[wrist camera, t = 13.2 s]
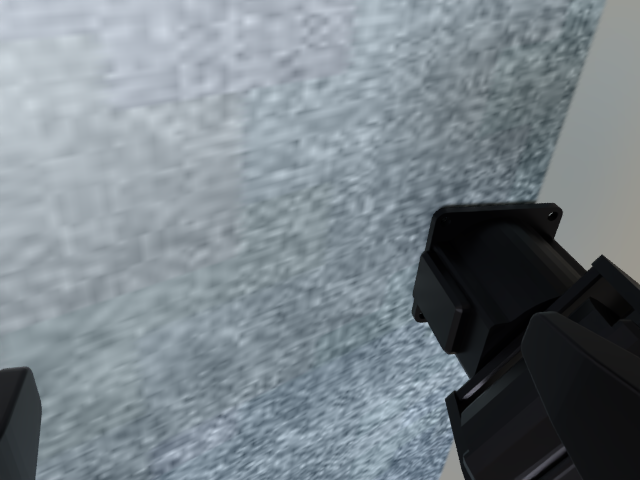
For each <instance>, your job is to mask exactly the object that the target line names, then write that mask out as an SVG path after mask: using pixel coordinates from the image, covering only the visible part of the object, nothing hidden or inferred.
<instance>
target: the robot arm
mask: <svg viewBox="0 0 640 480" xmlns="http://www.w3.org/2000/svg"><path fill="white" fill-rule="evenodd" d="M552 212H553V213H552ZM550 213H552V214H551V215H550V216H549V214H550ZM562 214H563V211H562V209H561V208H560V207H558V206H557V205H556V204H555V203H539V204H518V205H498V206H477V207H457V208H443V209H439V210H438V211H436V212H435V213H434V214H433V217H432V220H431V225H430V229H429V234H428V238H427V243H426V248H425V251H424V252H423V253H422V255H421V257H420V262H419V266H418V271H417V276H416V280H415V285H414V290H413V297H414V302H413V307H412V315H413V317H414V319H415V320H416V321H417V322H420V323H424V322H428V324H429V326H430V328H431V329H432V331H433V333H434V335H435V336H436V338H437V340H438V342H439V344H440V345H441V347H442V349H443V350H444V351H445V352H446V353H447V354H455V355H456V357H457V358H458V360H459V362H460V364H461V365H462V367H463V369H464V370H465V372H466V374H467V376H468V377H469V380H468V381H467V382H466V383H465V384H464V385H463V386H462V387H461V388H460V389H459V390H458V391H453V392H452V393H451V394H450V395H449V396H448V397H447V398H445V402H446V406H447V410H448V414H449V419H450V423H451V427H452V431H453V435H454V440H455V444H456V448H457V452H458V456H459V460H460V465H461V469H462V472H463V475H464V478H465V480H640V285H639V284H638V283H637V282H636V281H635V280H633V279H632V278H631V277H630V276H628V275H627V274H626V273H625V272H623V271H622V270H621V269H620V268H618V267H617V266H616V265H615V264H613V263H612V262H611V261H610V260H608V259H607V258H606V257H605V256H603V255H601V256H600V257H599V258H597V259H596V260H595V261H594V262H593V263H592V266H593V267H591V268H590V270H588V271H586V270H585V269H584V268H583V267H582V266H581V265H580V264H579V263H578V262H577V261H576V260H575V259H574V258H573V257H572V256H571V255H570V254H569V253H568V252H567V251H566V250H565V249H563V248H562V247H561V246H560V245H559V244H558V243H557V242H556V241H555V240H554V237H555V234H556V231H557V229H558V226H559V223H560V220H561V218H562ZM446 217H447V219H446V220H445V221H444V222H441V220H442V219H443V218H446ZM421 312H422V313H421ZM420 313H421V314H420ZM41 416H42V407H41V400H40V396H39V393H38V390H37V386H36V383H35V379H34V376H33V373H32V371H31V369H30V368H29V367H15V368H6V369H2V370H0V480H35V476H36V466H37V456H38V446H39V436H40V426H41Z"/></svg>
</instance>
